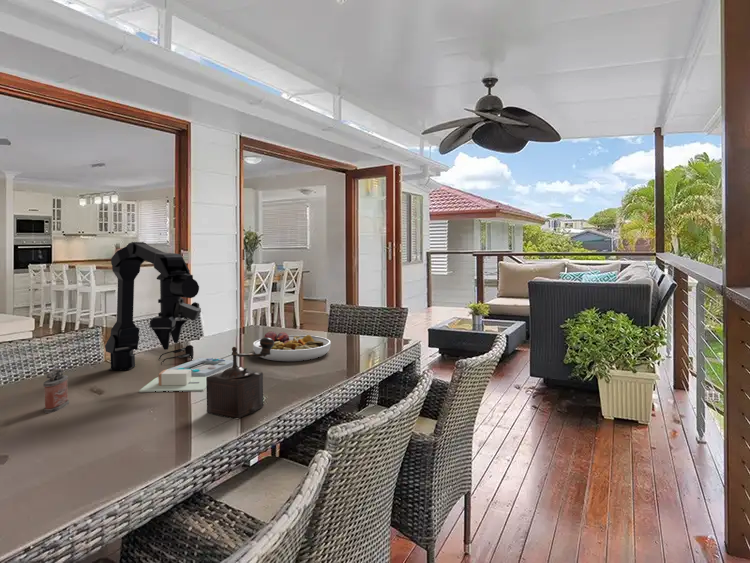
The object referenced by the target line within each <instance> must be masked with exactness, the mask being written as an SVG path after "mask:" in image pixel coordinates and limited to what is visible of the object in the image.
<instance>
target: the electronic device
mask: <svg viewBox="0 0 750 563" xmlns="http://www.w3.org/2000/svg"><path fill="white" fill-rule="evenodd" d="M204 363H206V365H207V364H208V365H211V366H207V368H204V369H199V368H198V369H197V368H196V369H195V368H194V369H193V368H192V367H195V366H197V365H200V364H204ZM232 366H233V359H223V358H221V359H219V358H213V357H212V358H208V357H199V358H196V359H193V360H190V361H188V362H185V363H182V364H181V363H180V364H179V365H176V366H172V367H169V368H168V369H166V370H177V369H191V377H209V376H212V375H215V374H217V373H219V372H221V371H224V370H226V369H228V368H231V367H232Z"/></svg>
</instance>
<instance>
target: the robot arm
mask: <svg viewBox="0 0 750 563" xmlns="http://www.w3.org/2000/svg"><path fill="white" fill-rule="evenodd" d="M145 261H146V262H149V263H150V264H152V265H153V268H154V269H155V271H157V272H158V273H160V274H158V276H157V277H156V280H158V281H159V288H160V289H159V293H160V296H159V297H160V298H158V299H157V303H158V304H159V303H160V305H159V306H160V311H159V312H158V314H157V315H156V316H154V317H151V319H150V320H149V328H150V329H151V331H153V332H154V334H155V336H156V337H157V340H158V341H159V343H160V345H161V347H162V348H163V350H164V351H166V350H169V347H170V342H171V341H170V340H171V338H172V342H173V344H178V343H179V341H180V340H179V339H180V336H181V332H182V329H183V326H184V325H185V324H186V323H187V322H188V321H189V320H190V321H196V320H197V319H199V316H200V314H201V313H202V308H201V306H200V303H199V302H196V301H194V302H192V303H191V304H190V303H186V302H185V299H184V298H186V299H193V298H195V297H196V296H197V295H198V293H199V291H200V285H199V284H198V281H197V280H195V279H194V275H193V274H191V272H190V269H189V267H188V266H187V263H186V261H185V259H184V256H183V255H182V254H180V253H176V252H175V253H174V252H164V251H162V250H160V249H158V248H155V247H153V246H151V245H149V244H147V243H146V242H144V241H131V242H129V243H128V244H127V245H126V246H124V247H123V248H121V249H118V250H117V251H116V252H115V253H114V254H113V255H112V257H111V259H110V263H111V268H112V269H111V270H112V272H113V274H114V275H115V276H116V279H117V292H116V293H117V297H116V298H117V299H116V303H117V304H116V322H115V323H114V325H112V328H111V330H110V335H109V338H108V339H107V341H106V343H105V345H104V348H105V352H106V353H109V354H110V355H109V356H110V367H109V368H108V371H110V370H113V371H130V370H131V369H133V368H134V367H136V366H135V365H136V360H135V359H136V354H135V353H134V350H138V347H139V341H140V328H139V327H138V326H137V325H136V324H135V323H134V297H135V280H136V278H137V277H138V275H140V274H139V273H140V271H141V265H142V264H143V263H144V262H145ZM132 367H133V368H132ZM129 369H130V370H129Z"/></svg>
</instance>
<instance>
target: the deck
mask: <svg viewBox="0 0 750 563" xmlns="http://www.w3.org/2000/svg"><path fill="white" fill-rule="evenodd" d="M191 369H192V368H187V369H177V370H167V369H163V370H162V371H160V372H159V373H158V377H159V386H162V385H187V384H188V383H189V382H190V381H191V377H192V376H191Z"/></svg>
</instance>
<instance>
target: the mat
mask: <svg viewBox="0 0 750 563" xmlns="http://www.w3.org/2000/svg"><path fill="white" fill-rule="evenodd" d="M207 377H208V376H206V377H201V376H191V381H190V382H189V383H188V384H187V385H162V386H159V376H158V377H155V378H154V379H152V380H151V381H149V382H148V383H147V384H145V385H144V386H143V387H142V388H140V389H139V390H138V393H164V392H163V391H166V392H165V393H168V391H169V392H170V393H171V392H172V393H174V392H173V391H179V392H182V391H183V392H204V391H205V389H206V390H207V384H206V378H207ZM155 391H156V392H155ZM179 392H178V393H179ZM183 392H182V393H183Z"/></svg>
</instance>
